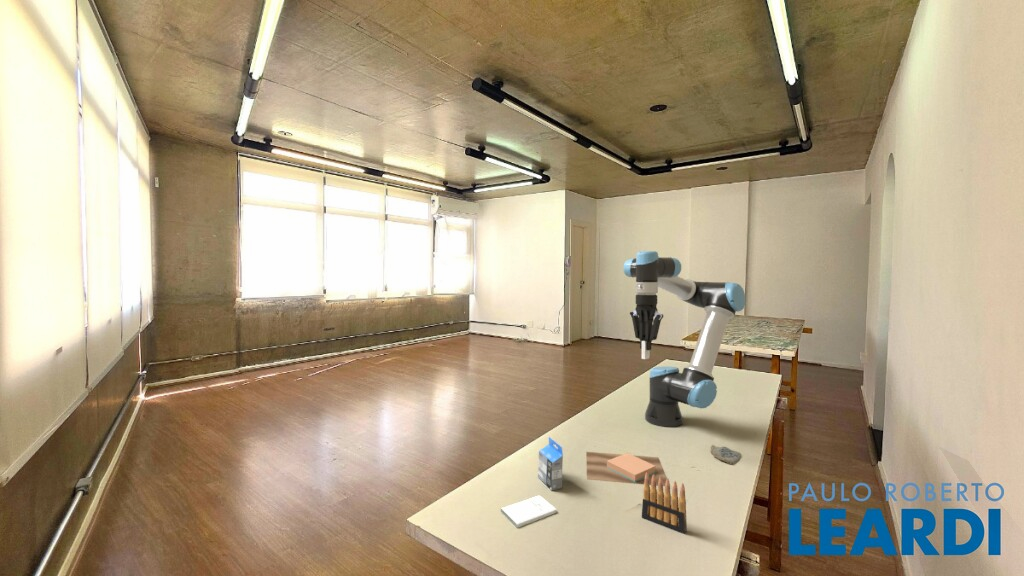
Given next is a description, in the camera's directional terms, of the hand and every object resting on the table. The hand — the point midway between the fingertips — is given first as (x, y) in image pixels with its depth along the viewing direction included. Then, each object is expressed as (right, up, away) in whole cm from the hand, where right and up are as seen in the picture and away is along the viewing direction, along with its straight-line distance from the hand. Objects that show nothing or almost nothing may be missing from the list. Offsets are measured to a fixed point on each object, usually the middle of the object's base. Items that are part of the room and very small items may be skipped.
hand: (645, 358), depth 146 cm
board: (-13, -33, -17) cm, 39 cm away
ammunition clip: (-10, -34, -45) cm, 57 cm away
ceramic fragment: (+25, -33, -7) cm, 42 cm away
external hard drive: (-44, -35, -40) cm, 69 cm away
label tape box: (-37, -34, -25) cm, 56 cm away
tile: (-14, -31, -15) cm, 37 cm away
